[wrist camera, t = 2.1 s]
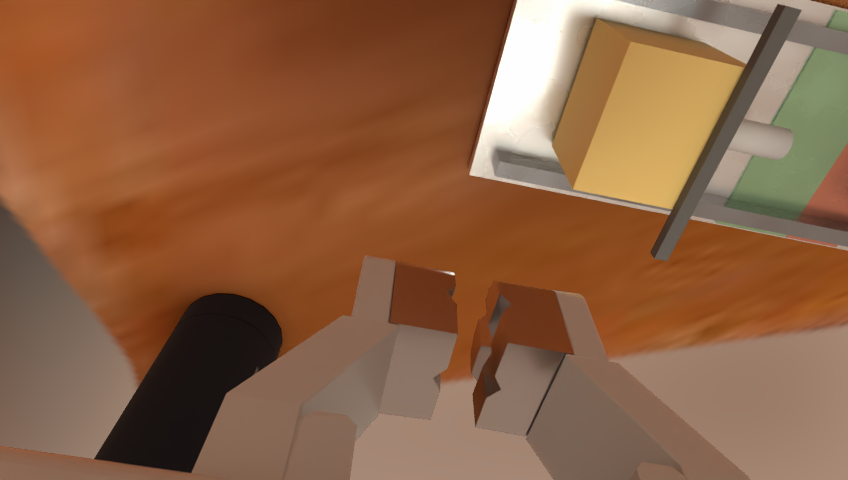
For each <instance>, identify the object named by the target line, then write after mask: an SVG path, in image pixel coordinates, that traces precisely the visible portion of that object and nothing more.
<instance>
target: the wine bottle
mask: <svg viewBox="0 0 848 480" xmlns="http://www.w3.org/2000/svg"><path fill="white" fill-rule="evenodd" d="M281 344H282V335H281V329H280V327H279V326H278V324H277V322H276V320H275V318H274V317H273V316H272V315H271V314H270V313H269V312H268V311H267V310H266V309H265V308H264V307H262V306H260V305H258V304H257V303H255V302H253V301H251V300H250V299H246V298H243V297H239V296H236V295H227V294H215V295H211V296H206V297H202V298H201V299H199V300H197V301H196V302H194V303H192V304H191V305H190V306H189V308H188V309H187V310H186V312H185V313H184V315H183V316H182V318H181V319H180V321H179V323H178V324H177V326H176V327H175V329H174V331H173V332H172V334H171V336H170V337H169V339H168V340H167V342H166V344H165V345H164V347H163V348H162V350H161V352H160V353H159V355H158V357H157V358H156V360H155V361H154V363H153V365H152V366H151V368H150V369H149V371H148V373H147V374H146V376H145V378H144V379H143V381H142V382H141V384H140V386H139V387H138V389H137V390H136V392H135V394H134V395H133V397H132V399H131V400H130V402H129V403H128V405H127V407H126V408H125V410H124V411H123V413H122V415H121V416H120V418H119V420H118V421H117V423H116V425H115V426H114V428H113V429H112V431H111V433H110V434H109V436H108V437H107V439H106V441H105V442H104V444H103V445H102V447H101V449H100V450H99V452H98V454H97V455H96V457H95V458H94V459H97V460H104V461H110V462H117V463H124V464H131V465H138V466H145V467H152V468H159V469H166V470H173V471H180V472H187V473H192V470H193V468H194V466H195V464H196V461H197V459H198V457H199V454H200V452H201V450H202V448H203V445H204V443H205V441H206V439H207V436H208V434H209V432H210V429H211V427H212V425H213V423H214V420H215V418H216V416H217V414H218V411H219V409H220V407H221V404H222V402H223V400H224V398H225V395H226V393H228V392H229V391H231V390H232V389H234V388H235V387H237V386H238V385H240V384H241V383H243V382H244V381H246V380H247V379H249V378H250V377H252V376H253V375H255V374H256V373H257V372H259V371H260V370H262V369H263V368H265V367H266V366H268V365H269V364H271V363H272V362H274V361H275V360H276V359H277V357H278V354H279V351H280V348H281Z"/></svg>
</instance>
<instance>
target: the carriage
mask: <svg viewBox="0 0 848 480" xmlns="http://www.w3.org/2000/svg"><path fill="white" fill-rule="evenodd" d="M801 11H802V10H800V9H796V8H793V7H789V6H785V5H780V4H777V6H776V8H775V10H774V12H773V14H772V16H771V18H770V20H769V21H768V23H767V25H766V27H765V29H764V31H763V33H762V35H761V37H760V39H759V41H758V43H757V45H756V47H755V49H754V51H753V53H752V55H751V57H750V59H749V61H748V63H747V64H745V63H743V62H741V61H739V60H737V59H735V58H733V57H731V56H730V55H728V54H726V53H724V52H722V51H720V50H718V49H716V48H714V47H712V46H710V45H708V44H706V43H703V42H699V41H695V40H691V39H686V38H682V37H678V36H673V35H669V34H665V33H660V32H656V31H652V30H647V29H643V28H639V27H634V26H630V25H626V24H621V23H617V22H613V21H608V20H604V19H600V18H597V19H596V22H595V24H594V27H593V30H592V33H591V36H590V39H589V41H588V44H587V47H586V50H585V53H584V56H583V58H582V61H581V64H580V67H579V70H578V73H577V75H576V78H575V81H574V84H573V87H572V90H571V92H570V95H569V98H568V101H567V104H566V107H565V109H564V112H563V115H562V118H561V121H560V124H559V126H558V129H557V132H556V135H555V138H554V141H553V143H552V147H553V149H554V152H555V154H556V156H557V158H558V160H559V162H560V164H561V166H562V168H563V170H564V172H565V175H566V177H567V179H568V181H569V183H570V185H571V187H572V189H573V190H578V191H583V192H588V193H593V194H598V195H603V196H608V197H613V198H618V199H623V200H628V201H633V202H638V203H643V204H648V205H653V206H658V207H663V208H668V209H672V211H671V213H670V215H669V217H668V219H667V221H666V223H665V225H664V227H663V229H662V231H661V232H660V234H659V236H658V238H657V240H656V242H655V244H654V246H653V248H652V250H651V254H652V256H653V257H654V259H660V260H665V261H667V260H668V259H669V257H670V255H671V253H672V251H673V249H674V247H675V246H676V244H677V242H678V240H679V238H680V236H681V234H682V232H683V231H684V229H685V227H686V225H687V223H688V221H689V219H690V218H691V216H692V214H693V212H694V210H695V208H696V206H697V205H698V203H699V201H700V199H701V197H702V195H703V193H704V192H705V190H706V188H707V186H708V184H709V182H710V180H711V178H712V177H713V175H714V173H715V171H716V169H717V167H718V165H719V164H720V162H721V160H722V158H723V156H724V154H725V152H726V151H727V150H731V151H736V152H740V153H745V154H750V155H754V156H759V157H764V158H768V159H773V160H779V159H781V158H783V157H784V156H785V155H786V154H787V153H788V152H789V150H790V148H791V146H792V143H793V133H792V131H791V130H790V129H788V128H784V127H779V126H774V125H770V124H765V123H761V122H756V121H752V120H747V119H744V117H745V115H746V113H747V111H748V110H749V108H750V106H751V104H752V102H753V100H754V98H755V97H756V95H757V93H758V91H759V89H760V87H761V85H762V84H763V82H764V80H765V78H766V76H767V74H768V72H769V70H770V69H771V67H772V65H773V63H774V61H775V59H776V57H777V56H778V54H779V52H780V50H781V48H782V46H783V44H784V43H785V41H786V39H787V37H788V35H789V33H790V31H791V30H792V28H793V26H794V24H795V22H796V20H797V18H798V16H799V15H800V13H801Z"/></svg>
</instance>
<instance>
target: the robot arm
mask: <svg viewBox="0 0 848 480" xmlns="http://www.w3.org/2000/svg"><path fill="white" fill-rule="evenodd" d="M455 286H456V281H455V274H454V273H453V272H448V271H443V270H438V269H433V268H429V267H424V266H419V265H414V264H409V263H404V262H399V261H396V263H395V261H394V260H390V259H384V258H379V257H373V256H368V255H365V257H364V259H363V264H362V269H361V274H360V279H359V283H358V288H357V293H356V298H355V303H354V307H353V312H352V317H350V316H344V315H342V316H341V317H339V318H338V319H336V320H335V321H333V322H332V323H330V324H329V325H327V326H326V327H324V328H323V329H321V330H320V331H318V332H317V333H315V334H314V335H312V336H311V337H309V338H308V339H307V340H305V341H304V342H302V343H301V344H299V345H298V346H296V347H295V348H293V349H292V350H290V351H289V352H287V353H286V354H284V355H283V356H281V357H280V358H278V359H277V360H275V361H274V362H272V363H271V364H269V365H268V366H266V367H265V368H263V369H262V370H260V371H259V372H257V373H256V374H255V375H253V376H252V377H250V378H249V379H247V380H246V381H244V382H243V383H241V384H240V385H238V386H237V387H235V388H234V389H232V390H231V391H229V392H228V393H226V395H225V398H224V400H223V402H222V404H221V407H220V409H219V411H218V414H217V416H216V418H215V420H214V423H213V425H212V427H211V429H210V432H209V434H208V436H207V439H206V441H205V443H204V445H203V448H202V450H201V452H200V454H199V457H198V459H197V461H196V464H195V466H194V468H193V470H192V473H187V472H180V471H173V470H166V469H159V468H152V467H145V466H138V465H131V464H124V463H117V462H110V461H104V460H97V459H90V458H83V457H75V456H69V455H61V454H55V453H47V452H41V451H34V450H27V449H20V448H13V447H6V446H0V480H350V472H351V466H352V458H353V451H354V444H355V441H356V440H357V439H358V438H359V437H360V436H361V434H362V433H363V432H364V431H365V430H366V429H367V428H368V426H369V425H370V424H371V423H372V422H373V421H374V420H375V419H376V417H377V416H378V413H381V414H389V415H396V416H404V417H412V418H419V419H427V420H431V417H432V414H433V411H434V408H435V405H436V402H437V399H438V396H439V393H440V373H441V372H443V371H444V370H446V369H447V368H448V365H449V361H450V358H451V355H452V351H453V348H454V345H455V342H456V338H457V335H458V325H457V304H456V303H455V302H454V301H453V300H452V297H453V293H454V290H455ZM485 301H486V310H487V315H485V316H484V317H482V318H481V319H479V320H478V323H477V327H476V330H475V333H474V337H473V343H472V348H471V374H472V375H473V377H474V378H475V379H476V380H477V384H476V387H475V389H474V392H473V405H474V415H475V416H474V417H475V427H477V428H483V429H488V430H494V431H499V432H504V433H510V434H515V435H521V436H526V437H527V438H526V440H527V441H528V443H529V444H530V445H531V447H532V449H533V450H534V452H535V453H536V454H537V456H538V457H539V459H540V460H541V462H542V463H543V465H544V466H545V467H546V469H547V470H548V472H549V473H550V475H551V476H552V477H553V479H554V480H750V479H749V477H748V476H747V475H746V474H745V473H744V472H743V471H741V470H740V469H739V468H738V467H737V466H736V465H734V464H733V463H732V462H731V461H730V460H729V459H727V458H726V457H725V456H724V455H723V454H722V453H721V452H719V451H718V450H717V449H716V448H715V447H714V446H713V445H711V444H710V443H709V442H708V441H707V440H706V439H705V438H703V437H702V436H701V435H700V434H699V433H698V432H697V431H695V430H694V429H693V428H692V427H691V426H690V425H689V424H687V423H686V422H685V421H684V420H683V419H682V418H680V417H679V416H678V415H677V414H676V413H675V412H674V411H672V410H671V409H670V408H669V407H668V406H667V405H666V404H664V403H663V402H662V401H661V400H660V399H658V397H656V396H655V395H654V394H653V393H652V392H651V391H649V390H648V389H647V388H646V387H645V386H644V385H643V384H641V383H640V382H639V381H638V380H637V379H636V378H635V377H633V376H632V375H631V374H630V373H629V372H628V371H627V370H625V369H624V368H623V367H622V366H621V365H620V364H618V363H615V362H610V361H609V360H608V357H607V355H606V352H605V350H604V347H603V345H602V342H601V339H600V337H599V334H598V332H597V329H596V326H595V324H594V321H593V319H592V316H591V314H590V311H589V308H588V306H587V303H586V301H585V298H584V297H583V296H581V295H580V294H575V293H569V292H562V291H555V290H546V289H540V288H534V287H528V286H522V285H516V284H510V283H503V282H497V281H493V283H492V285H491V286H490V288H489V291H488V294H487V297H486V300H485Z"/></svg>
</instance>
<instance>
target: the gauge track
mask: <svg viewBox="0 0 848 480" xmlns="http://www.w3.org/2000/svg"><path fill="white" fill-rule="evenodd" d="M777 4H780V5H785V6H789V7H793V8H796V9H800V10H802V11H801V13H800V15H799V16H798V18H797V20H796V22H795V24H794V26H793V28H792V30H791V31H790V33H789V35H788V37H787V39H786V41H785V43H784V44H783V46H782V48H781V50H780V52H779V54H778V56H777V57H776V59H775V61H774V63H773V65H772V67H771V69H770V70H769V72H768V74H767V76H766V78H765V80H764V82H763V84H762V85H761V87H760V89H759V91H758V93H757V95H756V97H755V98H754V100H753V102H752V104H751V106H750V108H749V110H748V111H747V113H746V115H745V117H744V119H747V120H752V121H756V122H761V123H765V124H770V125H774V126H779V127H784V128H788V129H790V130H791V131H792V133H793V143H792V146H791V148H790V150H789V152H788V153H787V154H786V155H785V156H784V157H783V158H781V159H779V160H773V159H768V158H764V157H759V156H754V155H750V154H745V153H740V152H736V151H731V150H727V151H726V152H725V154H724V156H723V158H722V160H721V162H720V164H719V165H718V167H717V169H716V171H715V173H714V175H713V177H712V178H711V180H710V182H709V184H708V186H707V188H706V190H705V192H704V193H703V195H702V197H701V199H700V201H699V203H698V205H697V206H696V208H695V210H694V212H693V214H692V216H691V218H690V219H693V220H698V221H703V222H708V223H713V224H718V225H723V226H728V227H733V228H738V229H743V230H748V231H753V232H758V233H763V234H768V235H773V236H778V237H783V238H788V239H793V240H798V241H803V242H808V243H813V244H818V245H823V246H828V247H833V248H838V249H843V250H848V9H844V8H840V7H836V6H832V5H828V4H824V3H820V2H815V1H811V0H514V1H513V5H512V9H511V12H510V16H509V20H508V23H507V27H506V31H505V34H504V38H503V42H502V45H501V49H500V53H499V56H498V60H497V64H496V67H495V71H494V75H493V78H492V82H491V86H490V89H489V93H488V97H487V100H486V104H485V108H484V111H483V115H482V119H481V122H480V126H479V130H478V133H477V137H476V141H475V144H474V148H473V152H472V155H471V159H470V163H469V166H468V168H469V175H472V176H477V177H482V178H487V179H492V180H497V181H502V182H507V183H512V184H517V185H522V186H528V187H533V188H538V189H543V190H548V191H553V192H558V193H563V194H568V195H573V196H578V197H583V198H588V199H593V200H598V201H603V202H608V203H613V204H618V205H623V206H628V207H633V208H638V209H643V210H648V211H653V212H658V213H663V214H668V215H670V213H671V211H672V209H668V208H663V207H658V206H653V205H648V204H643V203H638V202H633V201H628V200H623V199H618V198H613V197H608V196H603V195H598V194H593V193H588V192H583V191H578V190H573V189H572V187H571V185H570V183H569V181H568V179H567V177H566V175H565V172H564V170H563V168H562V166H561V164H560V162H559V160H558V158H557V156H556V154H555V152H554V149H553V147H552V143H553V141H554V138H555V135H556V132H557V129H558V126H559V124H560V121H561V118H562V115H563V112H564V109H565V107H566V104H567V101H568V98H569V95H570V92H571V90H572V87H573V84H574V81H575V78H576V75H577V73H578V70H579V67H580V64H581V61H582V58H583V56H584V53H585V50H586V47H587V44H588V41H589V39H590V36H591V33H592V30H593V27H594V24H595V22H596V19H597V18H600V19H604V20H608V21H613V22H617V23H621V24H626V25H630V26H634V27H639V28H643V29H647V30H652V31H656V32H660V33H665V34H669V35H673V36H678V37H682V38H686V39H691V40H695V41H699V42H703V43H706V44H708V45H710V46H712V47H714V48H716V49H718V50H720V51H722V52H724V53H726V54H728V55H730V56H731V57H733V58H735V59H737V60H739V61H741V62H743V63H745V64H747V63H748V61H749V59H750V57H751V55H752V53H753V51H754V49H755V47H756V45H757V43H758V41H759V39H760V37H761V35H762V33H763V31H764V29H765V27H766V25H767V23H768V21H769V20H770V18H771V16H772V14H773V12H774V10H775V8H776V6H777Z"/></svg>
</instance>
